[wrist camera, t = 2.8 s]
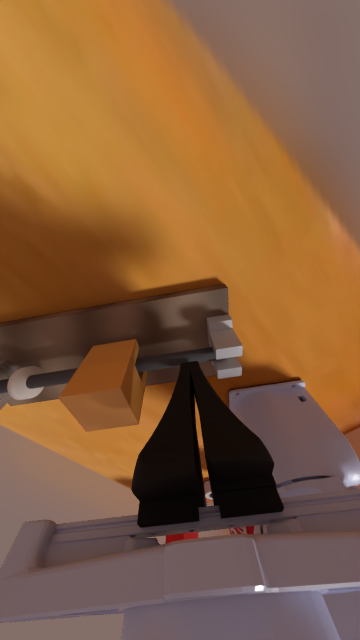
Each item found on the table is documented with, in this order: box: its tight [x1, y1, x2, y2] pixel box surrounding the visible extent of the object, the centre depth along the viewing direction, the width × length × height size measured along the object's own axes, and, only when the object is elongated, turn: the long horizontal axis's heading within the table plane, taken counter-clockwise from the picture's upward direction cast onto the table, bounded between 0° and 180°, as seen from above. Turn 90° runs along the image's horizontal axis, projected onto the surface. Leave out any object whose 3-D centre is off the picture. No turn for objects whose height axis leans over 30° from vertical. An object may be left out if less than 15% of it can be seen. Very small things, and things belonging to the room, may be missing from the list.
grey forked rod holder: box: [207, 314, 243, 379], centre depth 15 cm, size 2×5×3 cm, turn 10°
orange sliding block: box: [58, 339, 148, 432], centre depth 13 cm, size 4×4×5 cm
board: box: [0, 284, 229, 406], centre depth 17 cm, size 26×10×1 cm, turn 99°
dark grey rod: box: [0, 347, 226, 400], centre depth 15 cm, size 21×3×3 cm, turn 99°
